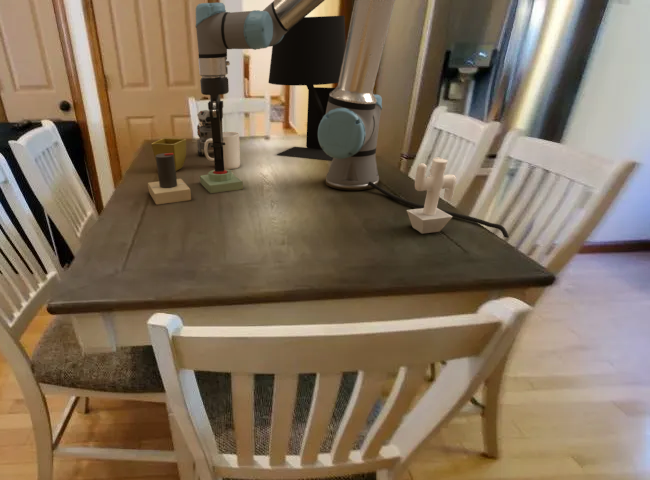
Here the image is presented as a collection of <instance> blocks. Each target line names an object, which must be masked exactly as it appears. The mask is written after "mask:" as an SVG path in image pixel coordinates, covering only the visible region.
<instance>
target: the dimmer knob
mask: <svg viewBox="0 0 650 480" xmlns="http://www.w3.org/2000/svg"><path fill="white" fill-rule="evenodd" d="M155 157H156V159H155V163H156V170H157V177H158V181H159V185H160V187H162V188H172V187H175V186H177V179H178V178H177V171H176V170H175V162H174V154H173V153H163V154H158V155H156V156H154V158H155Z"/></svg>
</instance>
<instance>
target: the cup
mask: <svg viewBox="0 0 650 480" xmlns="http://www.w3.org/2000/svg"><path fill="white" fill-rule="evenodd" d="M223 142H225V145H223V153H224V169H227V170H235V169H239V168H240V167H241V149H240V148H241V147H240V132H236V131H223ZM209 143H213V140H212V139H208V140H206V142H205V146H204V150H203V152H204V156H205V158H206V160H207V161H209V162H211V163H214V157H211V156H210V155H209V152H208V151H209V150H207V147H208V144H209Z"/></svg>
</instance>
